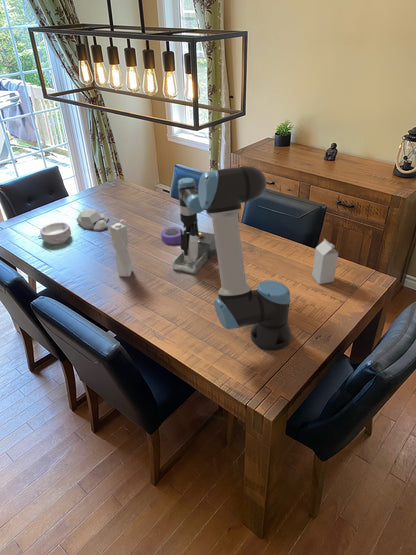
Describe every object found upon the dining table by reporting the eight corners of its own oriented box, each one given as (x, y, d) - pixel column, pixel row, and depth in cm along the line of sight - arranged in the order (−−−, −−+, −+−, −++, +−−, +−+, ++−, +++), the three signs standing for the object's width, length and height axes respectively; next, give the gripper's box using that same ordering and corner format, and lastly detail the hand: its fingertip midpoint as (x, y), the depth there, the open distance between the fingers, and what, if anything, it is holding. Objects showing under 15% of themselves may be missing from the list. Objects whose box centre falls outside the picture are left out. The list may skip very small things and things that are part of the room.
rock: (108, 216, 251) (105, 202, 245) (112, 231, 235) (109, 215, 229) (76, 221, 246) (73, 206, 241) (78, 236, 230) (75, 220, 225)
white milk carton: (319, 284, 186) (324, 247, 175) (311, 276, 191) (316, 239, 181) (333, 282, 187) (340, 244, 177) (325, 273, 193) (331, 237, 182)
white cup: (190, 250, 205) (189, 232, 200) (202, 255, 201) (201, 237, 195) (179, 257, 200) (177, 239, 195) (191, 262, 196) (190, 244, 190)
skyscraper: (136, 269, 201) (128, 216, 185) (133, 279, 194) (125, 224, 179) (118, 269, 201) (109, 216, 186) (115, 279, 194) (105, 224, 179)
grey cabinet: (197, 275, 194) (196, 255, 188) (171, 269, 199) (169, 249, 193) (218, 249, 214) (217, 230, 208) (193, 245, 219) (192, 226, 212)
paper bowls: (38, 241, 227) (35, 228, 223) (64, 232, 235) (61, 219, 231) (50, 251, 218) (47, 237, 213) (77, 241, 226) (74, 228, 221)
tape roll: (171, 247, 217) (171, 239, 215) (157, 240, 224) (156, 232, 221) (188, 239, 224) (187, 231, 222) (173, 232, 231) (172, 224, 228)
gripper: (186, 223, 179) (188, 268, 191) (205, 204, 194) (206, 247, 207) (170, 220, 181) (174, 265, 194) (190, 202, 197) (192, 245, 209)
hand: (190, 256), depth 200 cm, fingers closed on white cup, 7 cm apart
